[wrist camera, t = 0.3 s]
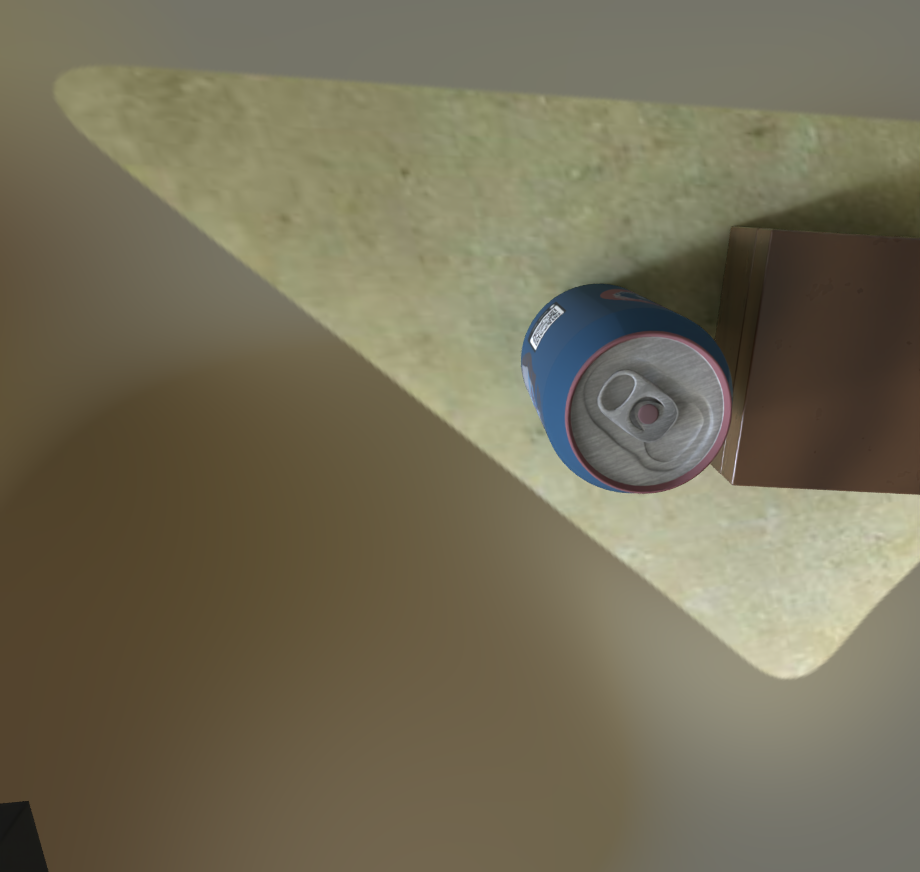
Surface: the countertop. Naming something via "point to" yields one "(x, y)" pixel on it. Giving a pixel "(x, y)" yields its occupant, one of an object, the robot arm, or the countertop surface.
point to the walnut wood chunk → (822, 360)
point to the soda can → (626, 389)
